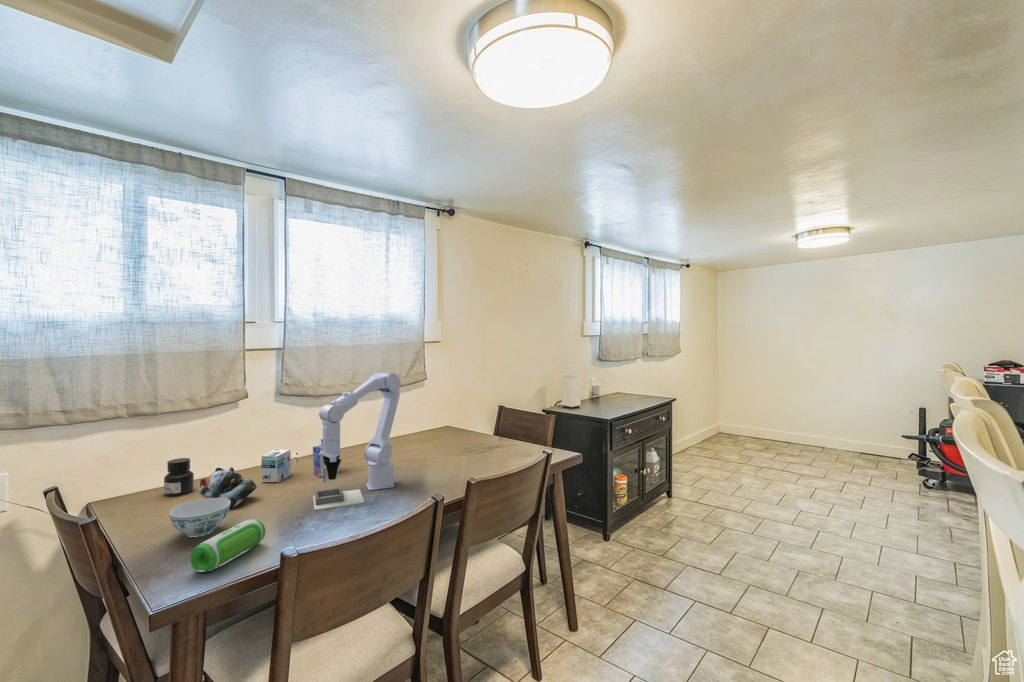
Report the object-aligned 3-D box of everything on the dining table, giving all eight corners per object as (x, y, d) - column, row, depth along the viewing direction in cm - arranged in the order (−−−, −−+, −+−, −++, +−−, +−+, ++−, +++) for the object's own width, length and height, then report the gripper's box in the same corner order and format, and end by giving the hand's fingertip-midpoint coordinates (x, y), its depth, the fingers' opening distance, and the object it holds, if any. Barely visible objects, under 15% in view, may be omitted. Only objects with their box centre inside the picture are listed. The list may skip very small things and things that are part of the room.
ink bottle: (158, 494, 167) (158, 461, 167) (185, 487, 175) (184, 455, 175) (172, 498, 162) (172, 465, 162) (199, 491, 170) (199, 459, 170)
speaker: (245, 541, 129) (245, 515, 129) (267, 544, 127) (267, 518, 127) (188, 573, 112) (188, 543, 112) (212, 577, 110) (212, 546, 110)
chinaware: (162, 548, 125) (161, 520, 125) (177, 527, 139) (177, 502, 138) (225, 538, 131) (225, 512, 131) (234, 519, 145) (234, 495, 144)
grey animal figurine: (228, 513, 149) (204, 477, 147) (208, 521, 154) (185, 487, 152) (264, 486, 163) (243, 453, 161) (245, 494, 168) (224, 462, 166)
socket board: (359, 490, 171) (359, 483, 171) (364, 503, 158) (364, 496, 158) (313, 497, 164) (313, 490, 164) (314, 510, 151) (314, 503, 151)
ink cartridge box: (333, 469, 198) (332, 436, 197) (341, 471, 195) (341, 437, 194) (312, 475, 189) (312, 440, 189) (320, 477, 186) (320, 442, 186)
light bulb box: (277, 483, 179) (277, 456, 179) (260, 483, 180) (260, 455, 179) (291, 474, 190) (291, 449, 190) (275, 474, 190) (275, 449, 190)
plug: (337, 479, 163) (337, 463, 162) (338, 483, 159) (338, 465, 159) (323, 481, 161) (323, 464, 160) (324, 484, 157) (323, 467, 157)
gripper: (318, 435, 165) (318, 473, 165) (320, 444, 151) (320, 485, 152) (339, 434, 168) (339, 470, 168) (342, 442, 154) (342, 482, 155)
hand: (331, 477), depth 160 cm, fingers closed on plug, 4 cm apart
